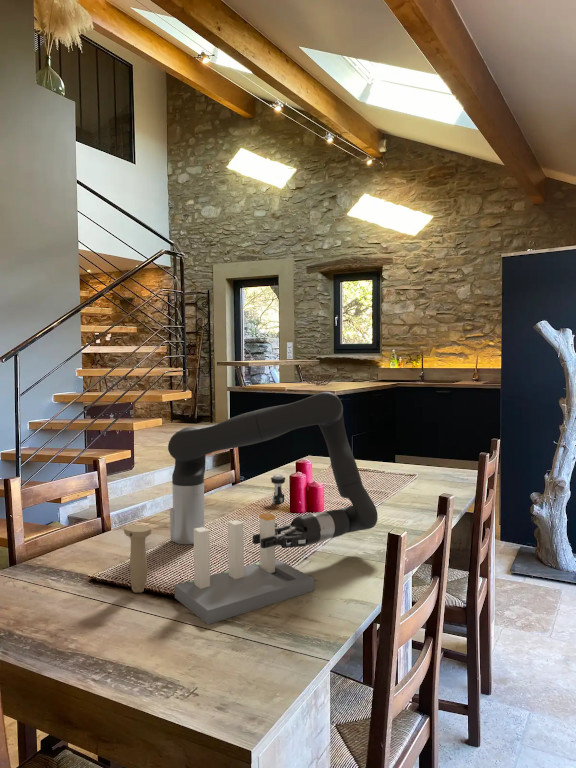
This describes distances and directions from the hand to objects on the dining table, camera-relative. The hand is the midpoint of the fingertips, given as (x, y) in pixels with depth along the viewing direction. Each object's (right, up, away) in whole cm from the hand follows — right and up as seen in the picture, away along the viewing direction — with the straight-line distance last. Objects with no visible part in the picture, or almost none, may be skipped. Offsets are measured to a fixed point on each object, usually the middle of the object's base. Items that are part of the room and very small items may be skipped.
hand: (257, 541), depth 142 cm
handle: (-28, -11, -4) cm, 30 cm away
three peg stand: (-3, -10, -6) cm, 12 cm away
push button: (+3, -5, +71) cm, 72 cm away
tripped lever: (+2, -8, +2) cm, 8 cm away
